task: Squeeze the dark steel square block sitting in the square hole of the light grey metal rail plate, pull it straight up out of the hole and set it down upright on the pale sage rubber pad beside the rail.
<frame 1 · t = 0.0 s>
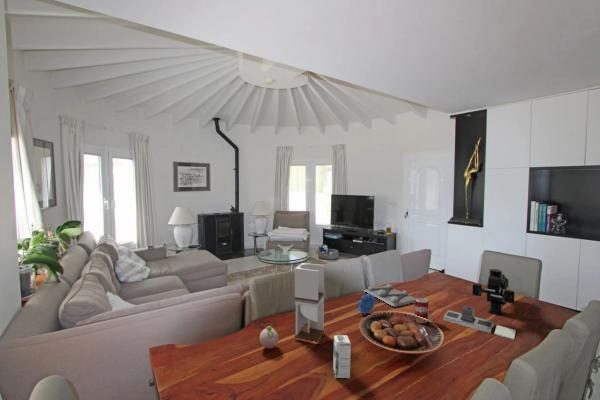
hand: (490, 297, 149), 17 cm above the table, tool horizontal, fingers open, 9 cm apart
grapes: (365, 313, 168), on the table
steel block: (468, 315, 156), in the rail plate
syrup box: (341, 374, 113), on the table
decorative fruit: (268, 349, 131), on the table
rail plate: (467, 322, 156), on the table
grey ridged tray: (390, 297, 192), on the table
sage pad: (505, 332, 146), on the table
soda can: (421, 321, 158), on the table
white dispenser tower: (309, 337, 141), on the table
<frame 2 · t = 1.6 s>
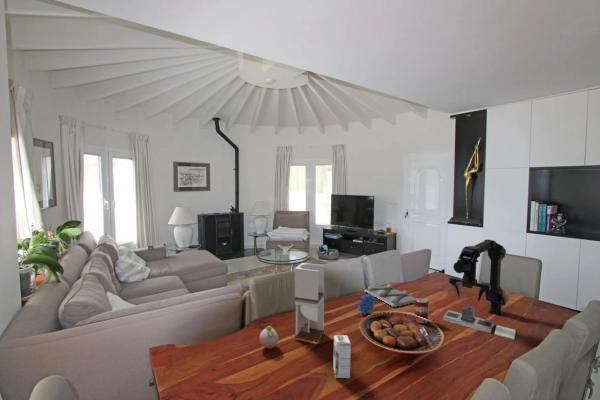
hand: (468, 299, 155), 13 cm above the table, tool pointing down, fingers open, 9 cm apart
nothing on the table moved.
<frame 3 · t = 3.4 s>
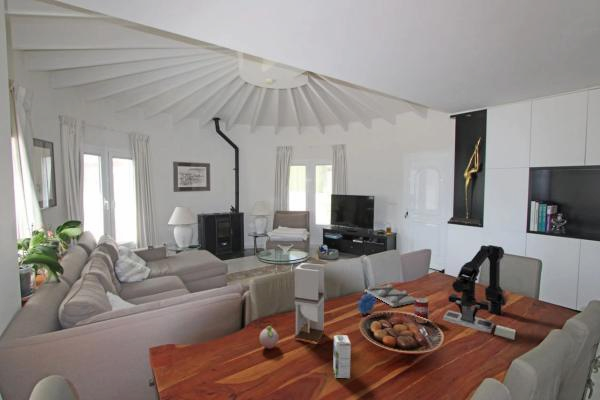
hand: (468, 317, 156), 3 cm above the table, tool pointing down, fingers closed on steel block, 5 cm apart
steel block: (468, 315, 156), in the rail plate, touching gripper
everything else where it was.
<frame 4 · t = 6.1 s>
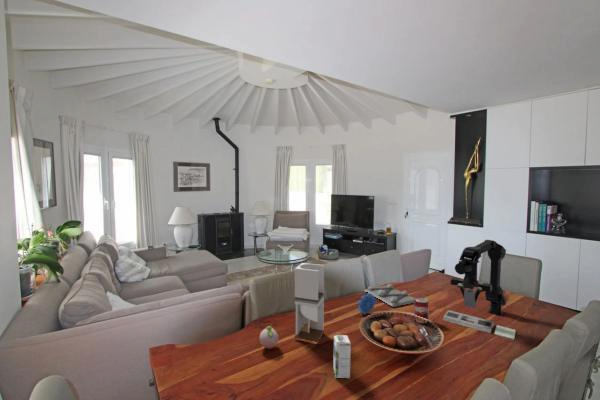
hand: (470, 299, 155), 13 cm above the table, tool pointing down, fingers closed on steel block, 5 cm apart
steel block: (470, 298, 155), point 14 cm above the table, touching gripper
everything else where it was.
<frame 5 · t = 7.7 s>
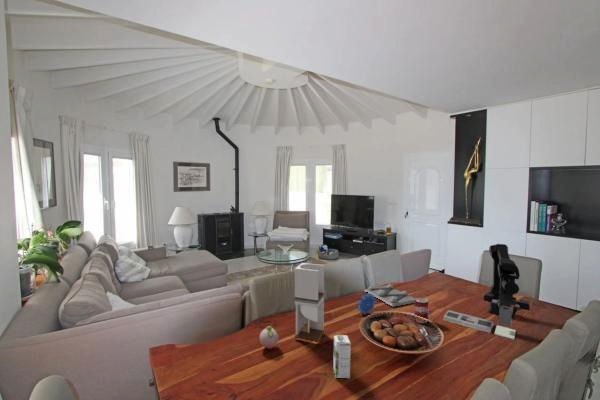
hand: (505, 317, 145), 8 cm above the table, tool pointing down, fingers closed on steel block, 5 cm apart
steel block: (505, 315, 145), point 9 cm above the table, touching gripper
everything else where it was.
when the fingers open (4 cm above the table, at t = 9.0 s): steel block stays where it is, resting on sage pad.
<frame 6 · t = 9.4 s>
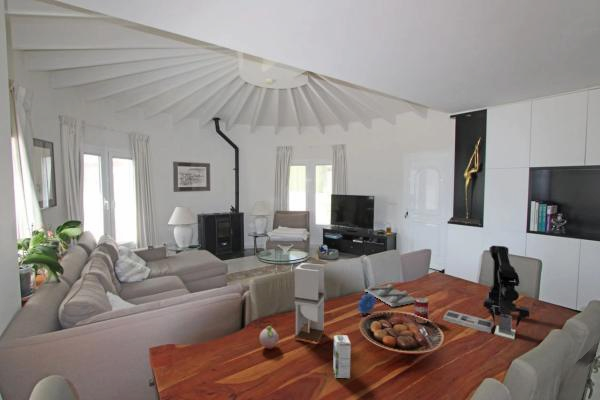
hand: (505, 323, 145), 4 cm above the table, tool pointing down, fingers open, 9 cm apart
steel block: (505, 323, 145), on the sage pad
everything else where it was.
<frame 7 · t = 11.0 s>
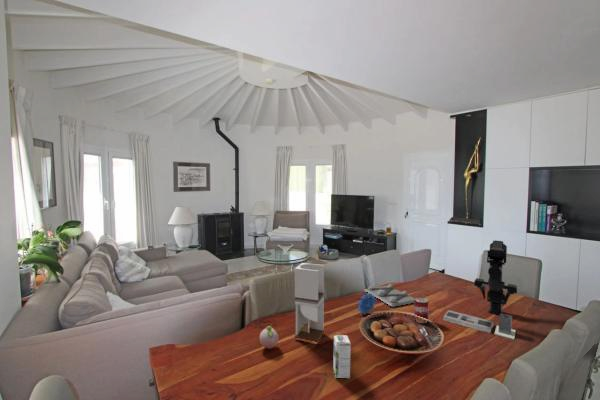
hand: (494, 301, 154), 13 cm above the table, tool pointing down, fingers open, 9 cm apart
nothing on the table moved.
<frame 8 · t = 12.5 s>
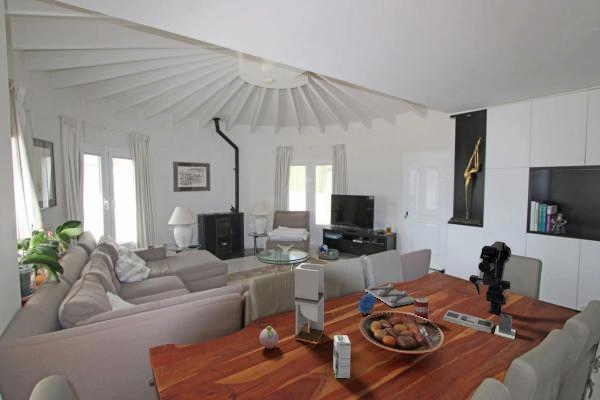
hand: (488, 296, 159), 13 cm above the table, tool pointing down, fingers open, 9 cm apart
nothing on the table moved.
at the end: steel block inside the target area on the sage pad (0.0 cm from its centre), point 4.6 cm above the sage pad's base; steel block tilted 0°; the gripper is holding nothing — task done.
